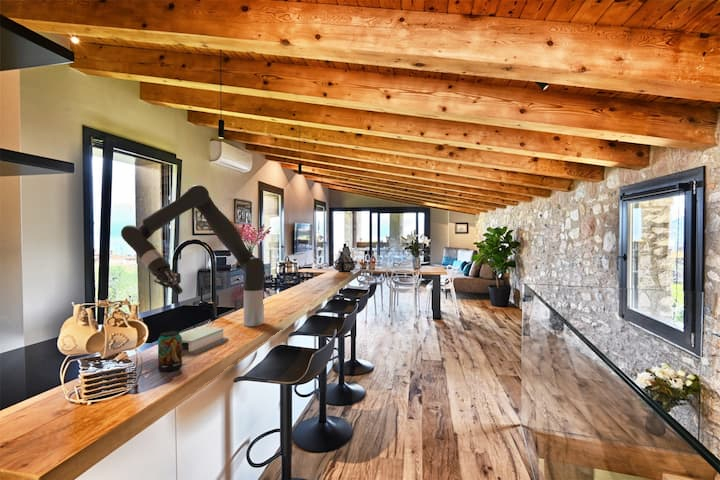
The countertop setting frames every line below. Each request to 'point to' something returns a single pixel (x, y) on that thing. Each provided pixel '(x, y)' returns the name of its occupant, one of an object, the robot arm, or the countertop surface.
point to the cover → (198, 334)
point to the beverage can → (169, 351)
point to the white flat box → (203, 344)
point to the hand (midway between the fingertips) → (180, 292)
